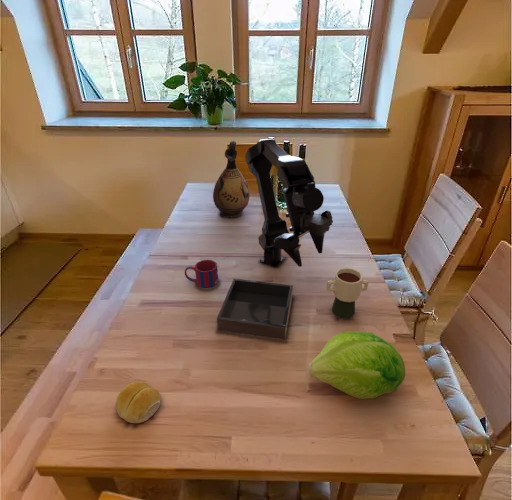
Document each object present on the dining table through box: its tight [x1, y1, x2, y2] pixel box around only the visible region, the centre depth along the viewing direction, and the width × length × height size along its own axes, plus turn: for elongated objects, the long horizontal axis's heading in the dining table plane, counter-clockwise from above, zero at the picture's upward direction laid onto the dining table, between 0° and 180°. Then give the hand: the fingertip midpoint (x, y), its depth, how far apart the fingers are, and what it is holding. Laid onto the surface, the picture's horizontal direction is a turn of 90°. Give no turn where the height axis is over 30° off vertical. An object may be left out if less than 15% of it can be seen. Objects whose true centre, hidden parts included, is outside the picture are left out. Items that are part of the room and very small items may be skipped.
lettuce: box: [308, 331, 406, 401], centre depth 75 cm, size 15×20×14 cm
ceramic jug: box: [212, 140, 251, 219], centre depth 146 cm, size 17×15×30 cm
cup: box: [184, 259, 219, 289], centre depth 109 cm, size 7×10×7 cm
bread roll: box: [115, 380, 162, 424], centre depth 73 cm, size 8×9×4 cm
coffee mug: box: [326, 267, 369, 320], centre depth 95 cm, size 11×7×13 cm, turn 92°
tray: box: [216, 278, 294, 340], centre depth 97 cm, size 18×18×5 cm
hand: (310, 259), depth 101 cm, fingers open, 9 cm apart
